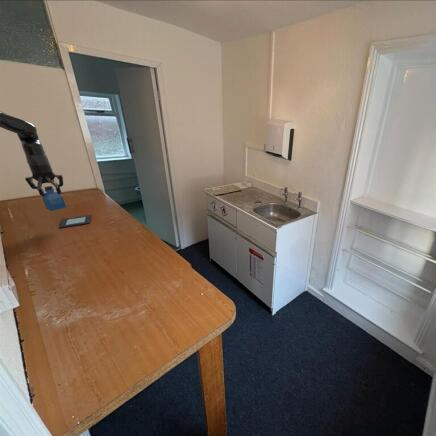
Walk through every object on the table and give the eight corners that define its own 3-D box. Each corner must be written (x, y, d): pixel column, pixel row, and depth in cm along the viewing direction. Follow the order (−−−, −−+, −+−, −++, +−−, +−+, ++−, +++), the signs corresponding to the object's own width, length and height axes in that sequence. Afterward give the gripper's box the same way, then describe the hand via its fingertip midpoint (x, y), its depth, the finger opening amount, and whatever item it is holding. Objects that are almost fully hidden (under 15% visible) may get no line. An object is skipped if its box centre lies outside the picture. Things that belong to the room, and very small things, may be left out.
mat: (59, 228, 131) (59, 227, 131) (63, 220, 141) (62, 219, 140) (89, 223, 138) (89, 222, 138) (90, 216, 148) (90, 215, 147)
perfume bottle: (51, 211, 123) (43, 189, 118) (46, 208, 125) (37, 187, 120) (66, 207, 128) (58, 186, 123) (61, 205, 130) (53, 184, 126)
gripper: (59, 161, 123) (70, 191, 130) (20, 162, 116) (34, 195, 123) (56, 163, 118) (68, 195, 125) (15, 165, 110) (30, 199, 117)
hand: (51, 195), depth 124 cm, fingers closed on perfume bottle, 5 cm apart
